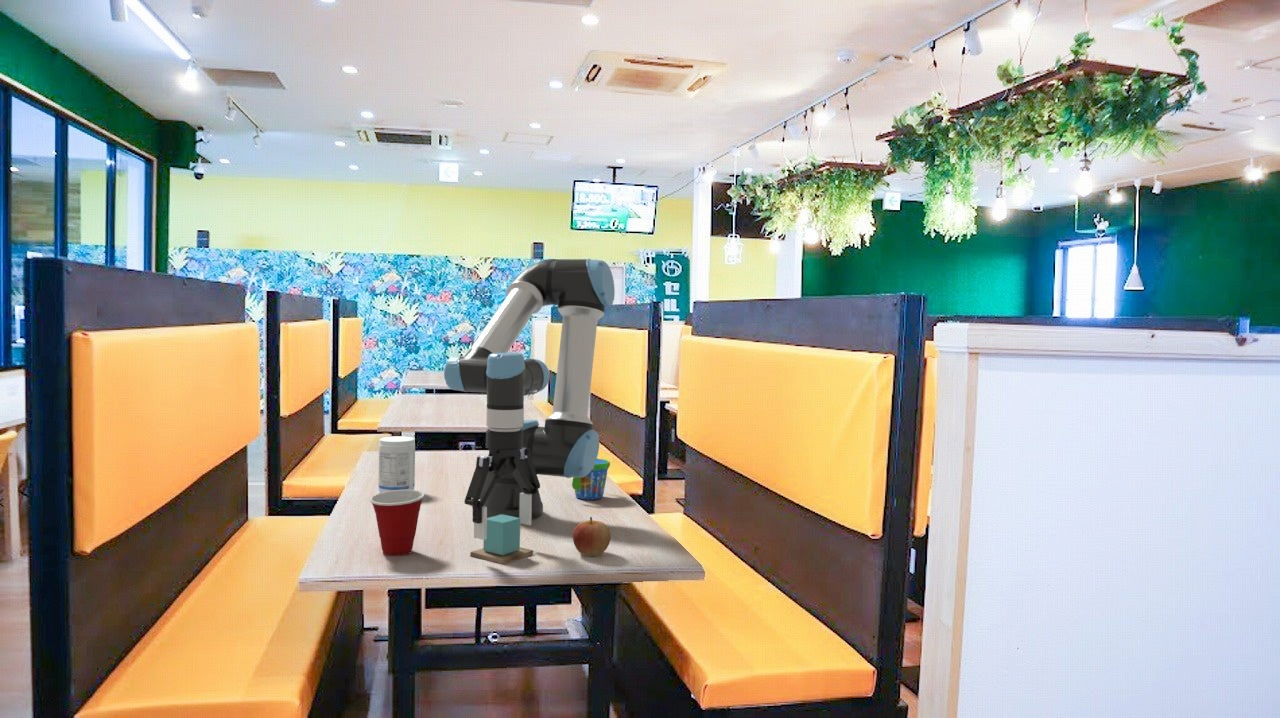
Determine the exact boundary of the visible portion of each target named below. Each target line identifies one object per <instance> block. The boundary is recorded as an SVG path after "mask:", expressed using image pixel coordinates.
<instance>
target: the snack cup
mask: <svg viewBox="0 0 1280 718" xmlns="http://www.w3.org/2000/svg"><path fill="white" fill-rule="evenodd" d="M610 466H611V462H610V461H609V460H607V459H603V458H597V459H596V462H595V465H594V467H593V468H592V470H591V472H590V473H589V474H588V475H587V476H585V477H582V478H576V477H572V482H571V487H572V488H573V490H574V492H575V493H574V494H575V497H576V498H578V499H581V500H585V499H586V500H588V501H594V499H595V500H599V499H602V498H603V497H604V494H605V488H606V482H607V475H608V470H609V468H610ZM586 500H585V501H586Z"/></svg>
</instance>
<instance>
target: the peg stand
mask: <svg viewBox="0 0 1280 718" xmlns="http://www.w3.org/2000/svg"><path fill="white" fill-rule="evenodd" d="M483 548H484V547H482V548H479V549H475V550H473V551H470V553H469V556H470V557H474V558H478V559H482V560H485V561H490V562H493V563H498V564H502V565H505V564H508V563H511V562H514V561H517V560H520V559H523V558H525V557H529V556H532V555H533V554H534V550H533V549H528V548H525V547H521V546H520V550H517V551H514V552H511V553H508V554H505V555H499V554H495V553H491V552H486V551H483Z"/></svg>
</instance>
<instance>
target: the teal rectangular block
mask: <svg viewBox="0 0 1280 718" xmlns="http://www.w3.org/2000/svg"><path fill="white" fill-rule="evenodd" d="M520 547H521V523H520V518H517V517H512V516H507V515H503V514H501V515H497V516H493V517H489V518H487V539H485V540H483V547H482V548H483V551H486V552H491V553H495V554H499V555H505V554H508V553H511V552H514V551H517V550H520Z"/></svg>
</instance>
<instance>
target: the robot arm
mask: <svg viewBox="0 0 1280 718" xmlns="http://www.w3.org/2000/svg"><path fill="white" fill-rule="evenodd" d="M615 292H616V291H615V281H614V277H613V274H612V271H611V267H610V266H609V264H608V263H607V262H606V261H604V260H602V259H591V258H585V259H583V258H582V259H581V258H580V259H579V258H577V259H571V258H569V259H568V258H567V259H566V258H565V259H564V258H563V259H562V258H561V259H560V258H548V259H543V260H541V261H538V262H536V263H534V264H532V265H531V266H529V267H527V268H525V270H522V271H521V272H520V273H519V274H518V275H517V276H515V278H514V279H513V280H512V282H511V283H510V284H509V285H508V287H507V289H506V297H505V299H504V300H503V301H502V302H501V304H500V306H499V307H498V308H497V310H496V312H495V313H493V315H492V317H491V318H490V320H489V322H488V323H487V324H486V325H485V327H484V328H483V329H482V330H481V331H482V332H481V333H480V334H479V336H478V337H477V338H476V340H475V341H474V343H473V344H472V345H471V347H470V348H469V350H468V351H467V352H466V354H465V355H464V356H462V355H457V356H452V357H450V358H449V359H447V361H446V363H445V365H444V370H443V378H444V381H445V384H446V386H447V387H448V389H450V390H453V391H460V392H465V393H468V392H469V393H470V392H471V393H486V423H485V424H486V428H488V429H486V432H485V445H486V446H485V447H486V448H487V449H488V455H487V456H485V455H484V456H483V455H477V457H476V462H475V468H474V472H473V474H472V478H471V481H470V483H469V487H468V490H467V492H466V495H465V497H464V502H463V503H464V504H465V505H467V506H471V508H472V522H473V538H474V539H480V540H483V541H484V540H485V539H487V518H489V517H493V516H497V515H501V514H503V515H507V516H512V517H517V518H520V525H525V526H531V525H532V520H533V519H537V518H540V517H542V516H543V515H544V503H543V502H542V499H541V495H540V490H539V489H540V488H541V483H540V481H539V478H538V477H539V476H538V475H541V476H548V477H549V476H551V477H562V478H567V479H571V478H573V477H576V478H582V477H585V476H587V475H588V474H589V473H590V472H591V470H592V468H593V467H594V465H595V462H596V459H598V455H599V450H600V435H599V433H598V431H596V430H595V429H593V428H594V427H593V426H594V423H593V421H592V420H591V419H590V418H589V416H588V415H589V407H590V406H589V405H590V395H591V384H592V375H593V367H594V366H593V364H594V356H595V347H596V337H597V329H598V321H599V320H600V319H602V317H604V316H605V309H606V308H609V307H611V306H612V305H613V304H614V302H615V301H614V300H615ZM545 306H557V311H558V313H559V314H560V315H561V316H562V323H561V332H560V343H559V349H558V350H559V351H558V360H557V367H556V368H557V370H556V377H555V379H556V380H555V385H554V386H555V387H554V395H553V403H552V404H553V405H552V406H553V407H552V412H551V413H550V414H549V415H548V416H546V418H545V420H544V426H540V423H539V421H538V420H537V419H525V417H524V416H525V415H524V414H525V412H524V410H525V408H524V405H525V404H524V400H525V398H524V397H525V396H529V395H536V394H537V393H539V392H542V391H543V390H545V388H546V387H547V386H548V384H549V381H550V371H549V368H548V366H547V365H546V363H545V362H543V361H541V360H540V359H537V358H526V359H525V357H524V356H523V354H522V353H519V352H518V353H517V352H509V351H510V349H511V348H512V346H513V345H514V344H515V342H516V340H517V339H518V337H519V336H520V334H521V333H522V331H523V329H524V328H525V327H526V325H527V324H528V322H529V321H530V319H531V318H532V316H533V315H534V314H537V313H538V312H540V311H541V310H542V308H543V307H545Z"/></svg>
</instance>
